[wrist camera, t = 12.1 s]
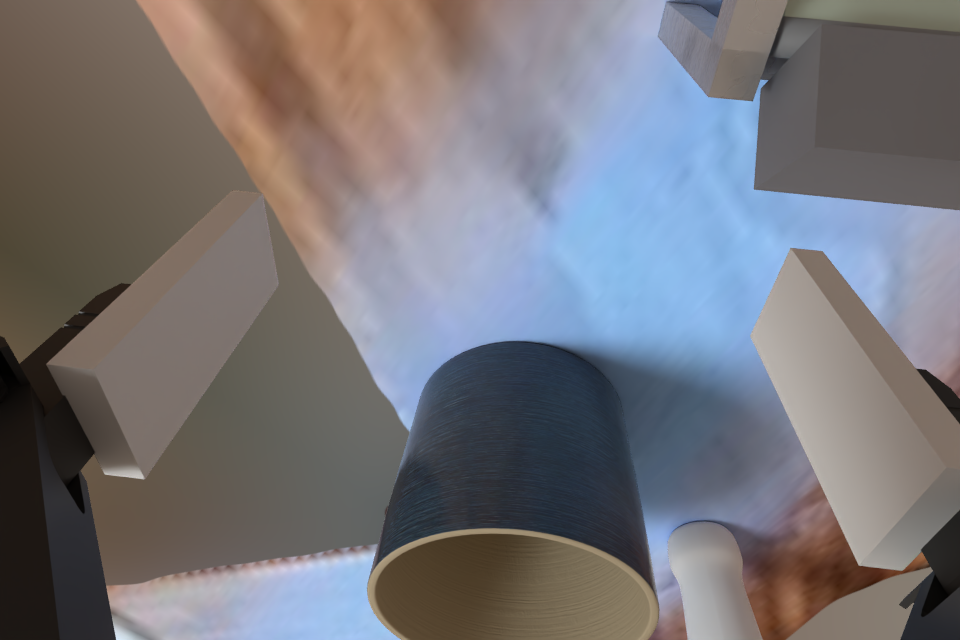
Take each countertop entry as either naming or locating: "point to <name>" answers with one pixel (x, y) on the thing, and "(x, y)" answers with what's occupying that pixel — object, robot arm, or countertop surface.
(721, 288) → the countertop surface
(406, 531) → the planter
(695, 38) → the frame
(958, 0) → the trapdoor
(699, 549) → the bottle
